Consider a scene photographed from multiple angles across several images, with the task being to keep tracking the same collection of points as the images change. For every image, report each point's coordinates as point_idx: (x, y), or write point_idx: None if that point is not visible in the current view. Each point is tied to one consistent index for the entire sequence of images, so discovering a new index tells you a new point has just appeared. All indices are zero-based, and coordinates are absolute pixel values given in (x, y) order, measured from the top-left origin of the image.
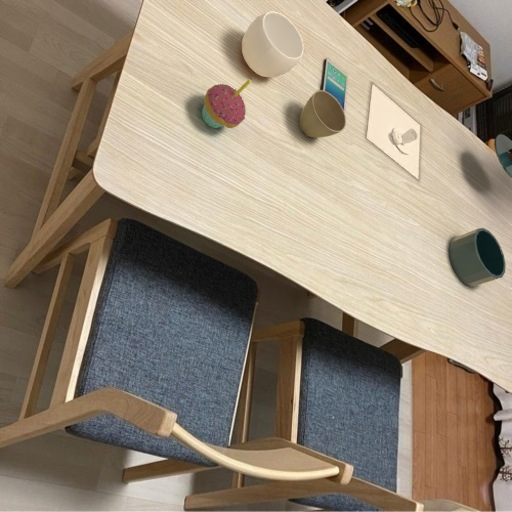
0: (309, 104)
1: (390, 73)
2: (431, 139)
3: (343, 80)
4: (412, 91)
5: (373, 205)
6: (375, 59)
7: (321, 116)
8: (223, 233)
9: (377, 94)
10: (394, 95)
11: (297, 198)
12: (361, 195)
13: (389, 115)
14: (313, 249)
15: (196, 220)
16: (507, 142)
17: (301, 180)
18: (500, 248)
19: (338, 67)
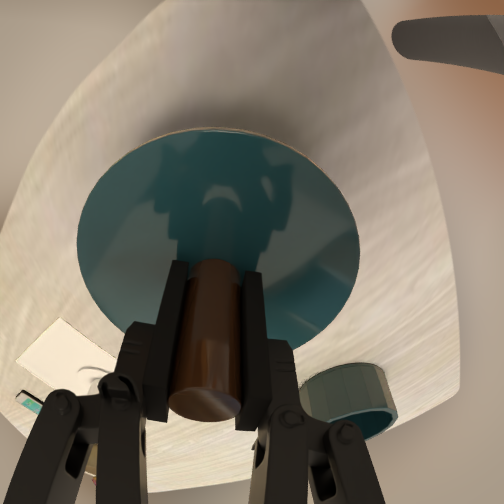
0: (93, 470)
1: None
2: (88, 307)
3: (35, 403)
4: None
5: (189, 448)
6: None
7: (93, 450)
8: (176, 488)
9: (29, 365)
10: (15, 333)
11: (165, 472)
12: (174, 450)
13: (58, 371)
14: (204, 477)
15: (167, 489)
16: (125, 225)
17: (151, 466)
18: (374, 410)
19: (21, 398)
